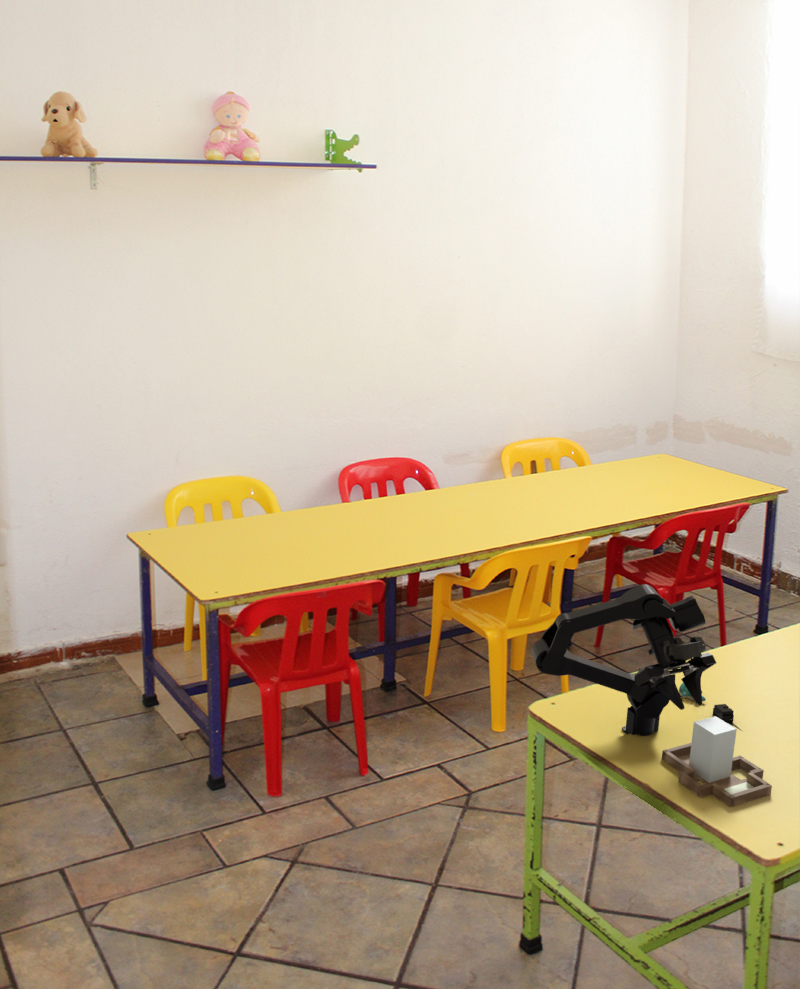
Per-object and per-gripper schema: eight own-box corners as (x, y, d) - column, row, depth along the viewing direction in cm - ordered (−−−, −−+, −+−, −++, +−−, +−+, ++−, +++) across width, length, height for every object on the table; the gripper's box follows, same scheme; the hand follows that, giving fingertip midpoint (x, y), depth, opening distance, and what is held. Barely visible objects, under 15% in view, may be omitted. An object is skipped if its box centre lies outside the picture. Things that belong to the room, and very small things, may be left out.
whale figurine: (692, 690, 247) (694, 676, 246) (710, 703, 240) (712, 689, 239) (673, 693, 245) (674, 679, 244) (690, 706, 238) (692, 692, 237)
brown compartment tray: (650, 766, 210) (651, 753, 209) (709, 750, 218) (711, 737, 217) (718, 816, 193) (720, 801, 192) (780, 796, 200) (782, 782, 200)
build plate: (749, 737, 225) (752, 719, 224) (721, 739, 223) (723, 721, 222) (721, 711, 237) (723, 694, 236) (693, 714, 235) (695, 697, 234)
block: (688, 768, 208) (693, 721, 205) (709, 762, 210) (715, 716, 207) (708, 782, 202) (714, 734, 200) (730, 776, 205) (736, 728, 202)
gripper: (648, 631, 205) (679, 702, 199) (715, 618, 213) (747, 685, 207) (620, 652, 214) (649, 720, 207) (686, 638, 222) (716, 703, 216)
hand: (691, 706), depth 209 cm, fingers open, 5 cm apart
